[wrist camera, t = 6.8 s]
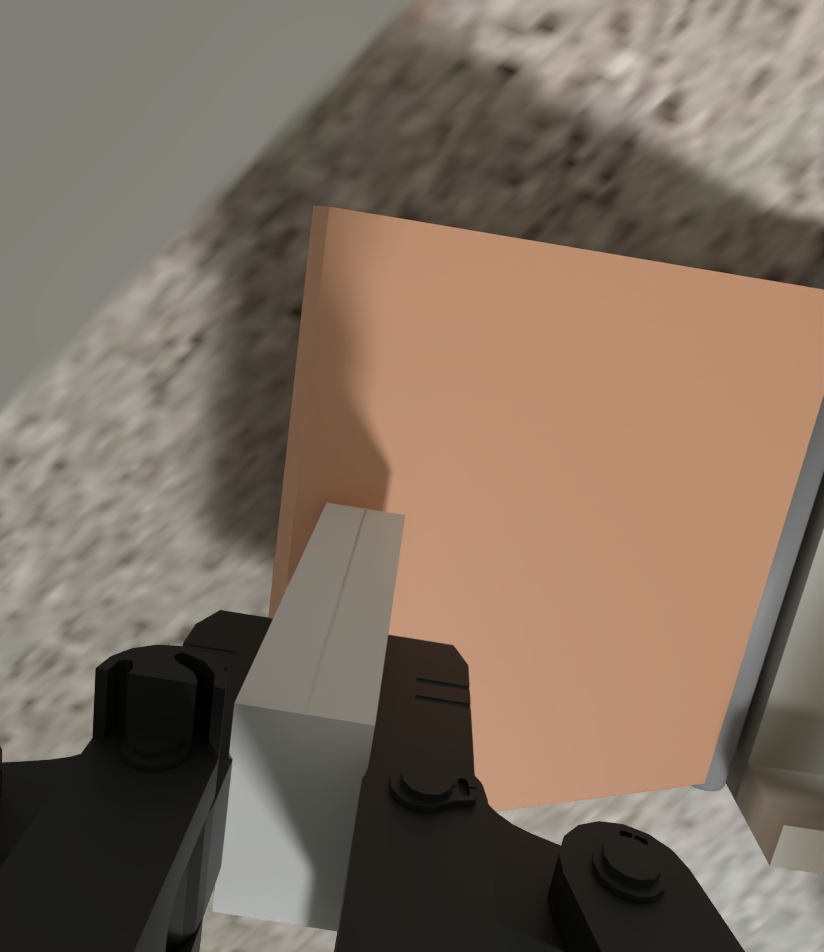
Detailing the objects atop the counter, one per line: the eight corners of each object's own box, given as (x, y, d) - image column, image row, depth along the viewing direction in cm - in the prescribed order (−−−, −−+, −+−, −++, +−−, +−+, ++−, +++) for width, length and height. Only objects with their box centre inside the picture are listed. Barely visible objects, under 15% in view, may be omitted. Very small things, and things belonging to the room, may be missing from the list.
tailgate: (701, 755, 22) (246, 808, 18) (843, 285, 19) (313, 193, 14) (735, 787, 21) (256, 854, 16) (895, 292, 17) (332, 193, 13)
